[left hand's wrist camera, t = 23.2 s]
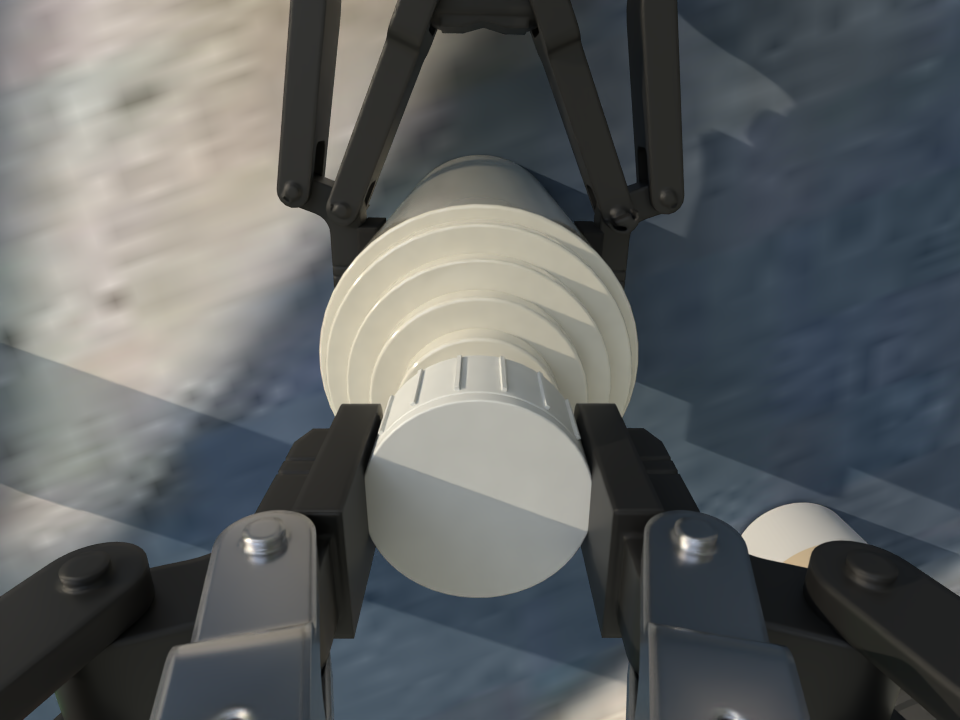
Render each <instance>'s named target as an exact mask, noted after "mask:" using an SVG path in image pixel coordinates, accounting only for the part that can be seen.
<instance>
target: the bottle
mask: <svg viewBox="0 0 960 720" xmlns="http://www.w3.org/2000/svg"><path fill="white" fill-rule="evenodd" d="M319 354H320V370H321V375H322V380H323V385H324V389H325V392H326V395H327V398H328V401H329V404H330V407H331V409H332V411H333V413H334V415H335V416H336V414H337V412H338V410H339V407H340V405H341V404H381V406H382V411H383V416H384V413H385V410H386V407H387V403H388V400H389V397H390V396H391V395H393V396H394V395H395V394H396V393H397V391H398V390H399V389H400V388H401V387H402V386H403V385H404V384H405V383H406V382H407V381H408V380H410V379H411V378H412V377H413V376H415V375H416V374H417V372H418V370H420V369H422V370H424V369H426V368H427V367H430V366H432V365H434V364H436V363H439V362H441V361H445V360H448V359H452V358H457V356H458V355H462V357H463V356H476V355H483V356H495V357H499V358H500V356H504V357H505V359H509V360H512V361H514V362H517V363H520V364H523V365H525V366H527V367H529V368H531V369H533V370H534V371H536V372H537V373H538V372H539V371H540V372H541V373H543V377H545V378H546V379H547V380H548V381H549V382H550V383H551V384H553V385H554V386H555V388H556V389H557V390H558V391H559V392H560V393H561V394H562V396H563V397H564V399H565V400H566V399H568V400H569V401H570V404H571V407H572V411H573V414H574V410H575V405H576V403H615V404H616V406H617V408H618V410H619V412H620V414H621V417H623V415H624V413H625V411H626V408H627V406H628V404H629V402H630V399H631V395H632V392H633V389H634V385H635V382H636V375H637V368H638V337H637V330H636V323H635V320H634V316H633V313H632V309H631V306H630V303H629V301H628V299H627V296H626V294H625V292H624V290H623V288H622V286H621V284H620V282H619V281H618V279H617V278H616V276H615V274H614V273H613V271H612V270H611V268H610V267H609V266H608V265H607V263H606V262H605V261H604V260H603V258H602V257H601V256H600V255H599V254H598V252H597V251H596V250H595V249H594V248H593V246H592V245H591V244H590V243H589V241H588V240H587V239H586V238H585V237H584V235H583V234H582V233H581V232H580V231H579V229H578V228H577V227H576V226H575V224H574V223H573V222H572V221H571V220H570V218H569V217H568V216H567V215H566V214H565V212H564V211H563V210H562V209H561V207H560V206H559V205H558V204H557V203H556V201H555V200H554V199H553V198H552V196H551V195H550V194H549V193H548V192H547V190H546V189H545V188H544V187H543V186H542V184H541V183H540V182H539V181H538V180H537V179H536V178H535V177H534V176H533V175H532V174H531V173H530V172H528V171H527V170H525V169H524V168H522V167H521V166H519V165H517V164H515V163H513V162H511V161H509V160H506V159H503V158H500V157H495V156H489V155H472V156H465V157H461V158H456V159H454V160H451V161H449V162H446V163H444V164H442V165H441V166H439V167H437V168H436V169H434V170H433V171H432V172H430V173H429V174H428V175H427V176H426V177H425V178H424V179H423V180H422V181H421V182H420V183H419V184H418V185H417V186H416V188H415V189H414V190H413V191H412V192H411V193H410V195H409V196H408V197H407V198H406V199H405V200H404V202H403V203H402V204H401V205H400V206H399V207H398V209H397V210H396V211H395V212H394V213H393V215H392V216H391V217H390V218H389V219H388V220H387V222H386V223H385V224H384V225H383V226H382V227H381V229H380V230H379V231H378V232H377V233H376V234H375V236H374V237H373V238H372V239H371V240H370V242H369V243H368V244H367V245H366V246H365V247H364V249H363V250H362V251H361V252H360V253H359V254H358V256H357V257H356V258H355V259H354V261H353V262H352V263H351V264H350V266H349V267H348V268H347V270H346V271H345V272H344V274H343V275H342V277H341V279H340V280H339V282H338V284H337V286H336V287H335V289H334V291H333V293H332V296H331V298H330V301H329V303H328V306H327V308H326V311H325V315H324V320H323V324H322V328H321V336H320V347H319Z"/></svg>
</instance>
